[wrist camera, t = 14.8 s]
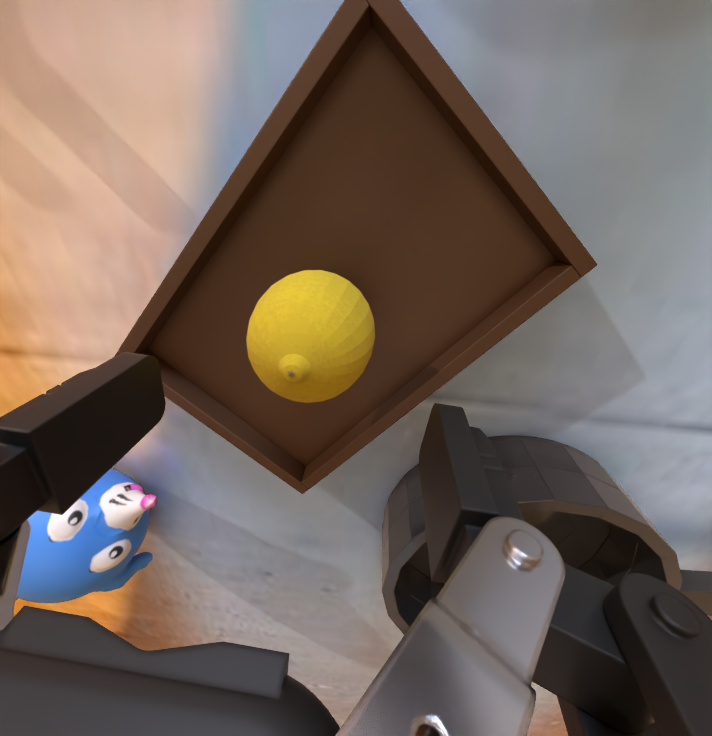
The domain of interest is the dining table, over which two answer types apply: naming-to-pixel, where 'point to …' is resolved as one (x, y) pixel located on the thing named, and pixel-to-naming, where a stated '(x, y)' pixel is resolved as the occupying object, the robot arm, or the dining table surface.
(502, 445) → the pan
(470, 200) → the tray
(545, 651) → the robot arm
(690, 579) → the pan handle
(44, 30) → the dining table surface
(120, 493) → the blue mole toy
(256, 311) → the lemon
